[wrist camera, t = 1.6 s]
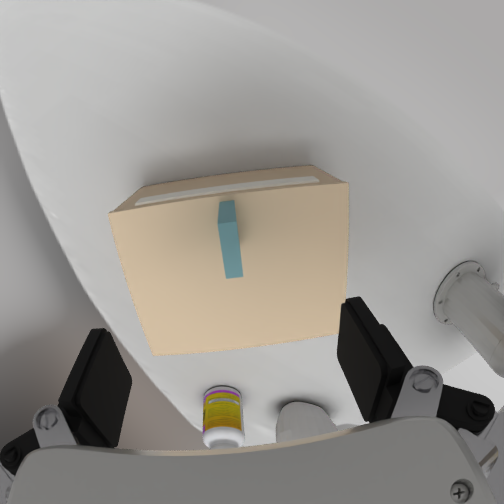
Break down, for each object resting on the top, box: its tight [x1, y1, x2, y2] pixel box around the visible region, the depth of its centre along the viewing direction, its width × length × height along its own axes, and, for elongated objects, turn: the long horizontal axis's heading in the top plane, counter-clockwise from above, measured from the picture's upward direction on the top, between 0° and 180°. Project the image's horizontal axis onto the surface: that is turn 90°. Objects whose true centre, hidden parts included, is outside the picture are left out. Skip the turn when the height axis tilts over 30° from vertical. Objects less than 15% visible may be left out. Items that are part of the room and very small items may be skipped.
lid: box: [108, 182, 349, 356], centre depth 25 cm, size 21×16×6 cm
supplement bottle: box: [203, 387, 245, 450], centre depth 43 cm, size 7×7×13 cm
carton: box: [114, 165, 342, 211], centre depth 32 cm, size 20×16×10 cm
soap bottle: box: [276, 402, 338, 443], centre depth 41 cm, size 14×9×26 cm, turn 55°
